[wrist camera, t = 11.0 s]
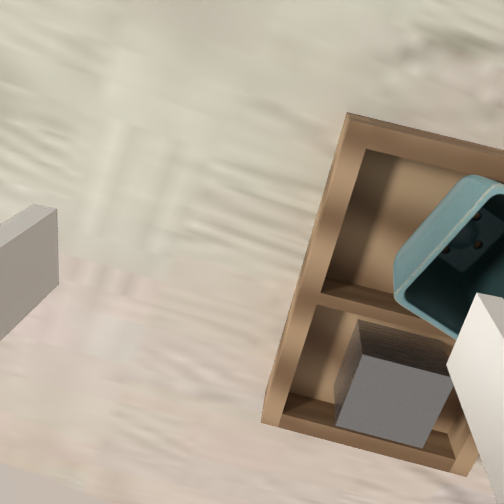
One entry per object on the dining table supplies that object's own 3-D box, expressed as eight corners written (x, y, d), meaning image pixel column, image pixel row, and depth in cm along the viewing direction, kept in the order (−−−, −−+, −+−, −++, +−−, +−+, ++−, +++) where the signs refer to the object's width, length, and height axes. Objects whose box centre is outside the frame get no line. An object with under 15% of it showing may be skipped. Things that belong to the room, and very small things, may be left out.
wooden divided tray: (347, 112, 34) (350, 120, 31) (596, 172, 34) (630, 188, 30) (265, 392, 45) (260, 422, 41) (454, 441, 44) (466, 476, 41)
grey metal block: (357, 319, 40) (362, 354, 35) (440, 340, 39) (456, 378, 35) (333, 384, 42) (335, 425, 38) (411, 405, 42) (422, 448, 38)
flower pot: (454, 147, 33) (498, 179, 25) (551, 216, 34) (624, 269, 26) (374, 242, 37) (389, 298, 29) (464, 303, 38) (505, 374, 30)
